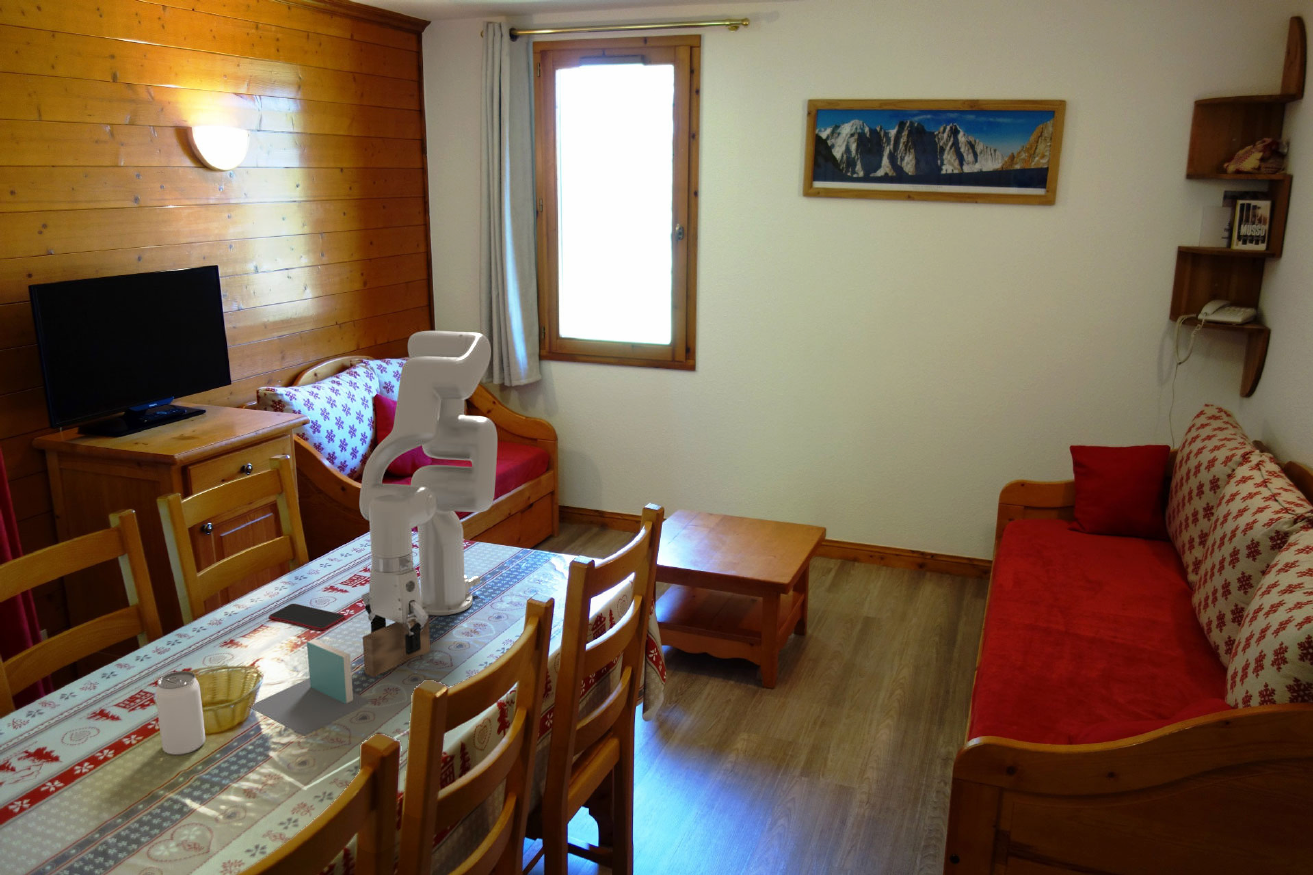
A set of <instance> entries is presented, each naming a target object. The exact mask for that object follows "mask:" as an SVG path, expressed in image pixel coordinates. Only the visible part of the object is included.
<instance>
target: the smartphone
mask: <svg viewBox="0 0 1313 875" xmlns="http://www.w3.org/2000/svg"><path fill="white" fill-rule="evenodd" d="M268 618H269V619H270V620H274V621H279V622H283V623H288V624H292V625H296V626H300V627H304V628H307V629H311V630H316V631H319V632H321V631H323V632H324V631H326V630H328V629H329V628H331V627H333V626H335V625H336V624H338V623H340V622H342V621H343V620H345V618H346V615H344V614H342V613H337V612H334V611H328V610H325V609H320V608H315V607H312V606H311V607H310V606H308V605H303V604H298V603H290V604H288V605H286V606H284V607H282V608H280V609H278V610H277V611H274V612H272V613H270V614H269V615H268Z"/></svg>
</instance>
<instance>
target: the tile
mask: <svg viewBox="0 0 1313 875" xmlns="http://www.w3.org/2000/svg"><path fill="white" fill-rule="evenodd" d="M306 650H307V651H306V652H307V661H308V674H309V675H308V676H309V678H310V687H312V688H314V689H316V690H318V691H320V692H322V693H324V694H326V695H328V696H330V697H333V698H335V699H337V700H339V701H341V702H343V703H345V704H346V703H348V702H350V701H352V700H353V693H354V692H353V680H352V664H351V654H350V653H348V652H345V651H343V650H341V649H338V648H336V647H334V646H331V645H330V644H328V643H324V642H322V641H320V640H318V639H315V638H314V639H311V640H309V641H306Z"/></svg>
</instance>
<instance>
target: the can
mask: <svg viewBox="0 0 1313 875" xmlns="http://www.w3.org/2000/svg"><path fill="white" fill-rule="evenodd" d="M156 684H157V687H156V689H155V701H156V709H157V717H158V725H159V732H160V739H161V741H160V742H161V746H162V750H163V751H164V752H165V753H166V754H168V755H170V756H171V755H172V756H181V755H182V756H183V755H187V754H188V755H189V754H191V753H192V752H193V753H194V752H195V751H196V750H197V751H198V750H199V749H201V747H202V746H203V744H205V742H206V731H205V722H204V712H203V702H202V697H201V695H202V694H201V687H200V683H199V681H198V680H197V678H196V674H195V673H194V672H191V671H189V670H188V671H187V670H183V671H174V672H170V673H168V674H165V675H163V676H161V677H160V678H159V679H158V680H157V683H156Z"/></svg>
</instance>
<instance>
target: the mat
mask: <svg viewBox="0 0 1313 875" xmlns="http://www.w3.org/2000/svg"><path fill="white" fill-rule="evenodd" d="M372 702H373V701H372V700H371V699H368V698H365V697H363V696H361V695H359V694H357V693H355V692H353V700H352V701H350V702H348V703H346V704H345V703H343V702H341V701H339V700H337V699H335V698H333V697H330V696H328V695H326V694H324V693H322V692H320V691H318V690H316V689H314V688H312V687H310V677H308V678H306V679H304V680H303V681H300V682H298V683H295V684H293V685H292V686H289V687H288V688H285V689H283V690H280V691H278V692H276V693H274V694H272V695H270V696H268V697H265V698H262V699H261V700H258V701H256V702H254V703H253V704H254V705H253V706H252V708H251V709H252V710H253V711H255V712H258V713H260V714H262V715H263V716H265V717H267V718H269V719H271V720H273V721H274V722H277V723H279V724H281V725H283V726H285V727H287V728H289V729H290V730H292V731H294V732H296V733H297V734H300V735H302V736H304V737H306V736H308V735H310V734H311V733H313V732H316V731H318V730H319V729H321V728H323V727H326V726H327V725H329V724H331V723H332V722H335V721H337V720H339V719H341V718H342V717H345V716H346V715H348V714H350V713H352V712H354V711H356V710H359V709H360V708H362V707H364V706H366V705H369V703H372Z"/></svg>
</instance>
